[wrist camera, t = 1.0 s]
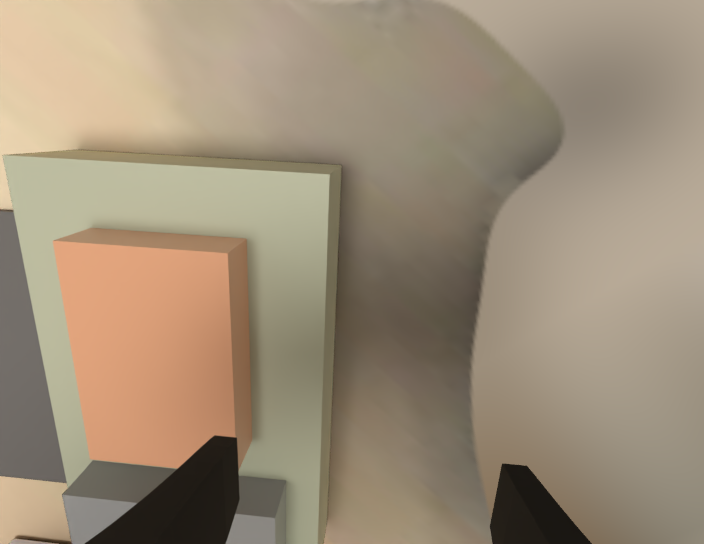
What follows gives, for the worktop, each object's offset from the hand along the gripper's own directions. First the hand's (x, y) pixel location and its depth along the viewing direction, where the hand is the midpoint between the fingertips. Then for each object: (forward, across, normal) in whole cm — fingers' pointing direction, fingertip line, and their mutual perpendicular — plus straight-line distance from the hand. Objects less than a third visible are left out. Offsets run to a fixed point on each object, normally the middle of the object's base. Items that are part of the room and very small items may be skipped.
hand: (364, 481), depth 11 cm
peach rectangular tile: (+6, +8, 0) cm, 10 cm away
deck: (+10, +8, +3) cm, 13 cm away
